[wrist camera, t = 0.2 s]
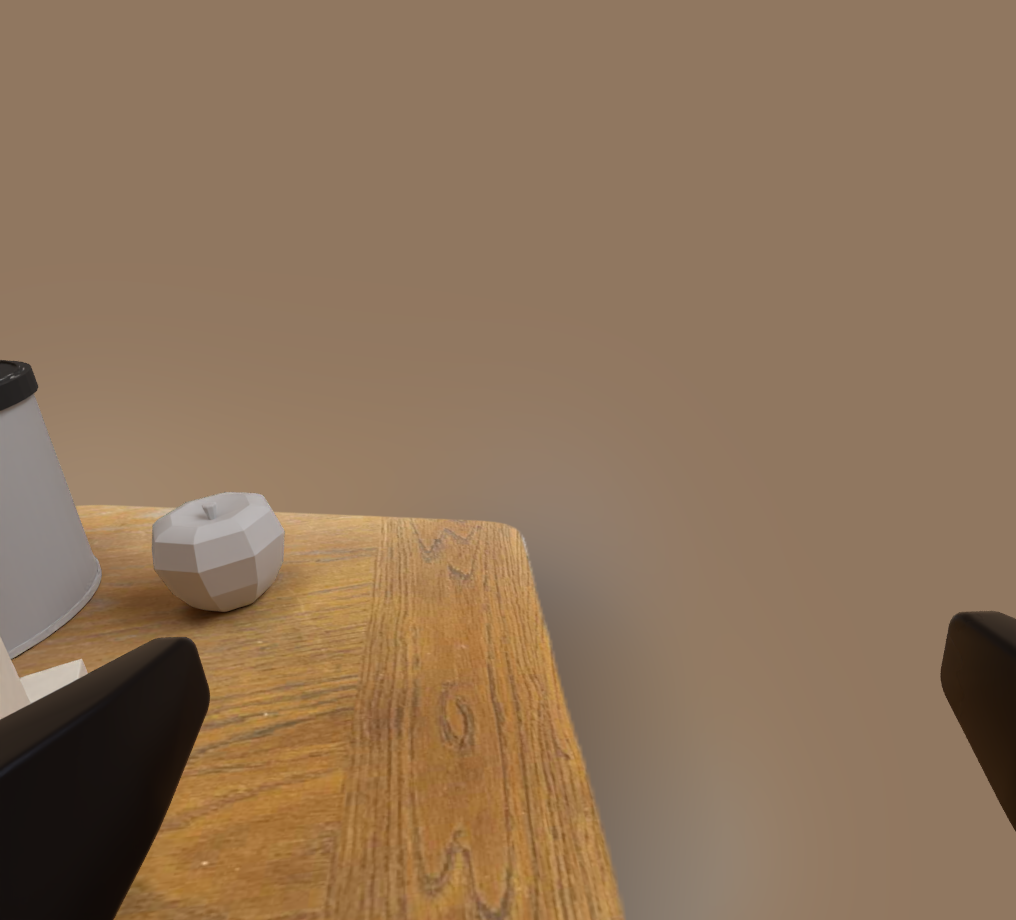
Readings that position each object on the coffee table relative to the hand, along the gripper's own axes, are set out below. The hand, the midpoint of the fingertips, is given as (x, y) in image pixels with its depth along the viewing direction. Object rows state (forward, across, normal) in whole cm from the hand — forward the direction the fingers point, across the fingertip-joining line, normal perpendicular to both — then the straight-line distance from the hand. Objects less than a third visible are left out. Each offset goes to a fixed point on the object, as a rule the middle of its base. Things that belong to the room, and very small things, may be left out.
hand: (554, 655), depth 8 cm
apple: (+28, +22, +17) cm, 39 cm away
